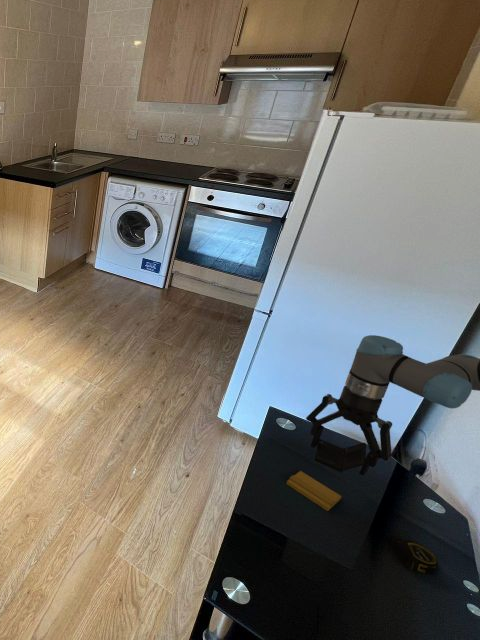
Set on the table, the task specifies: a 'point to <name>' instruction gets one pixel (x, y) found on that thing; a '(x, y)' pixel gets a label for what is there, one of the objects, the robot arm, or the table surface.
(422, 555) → the tape measure
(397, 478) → the table surface
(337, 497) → the block
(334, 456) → the dark brown faceted prism
